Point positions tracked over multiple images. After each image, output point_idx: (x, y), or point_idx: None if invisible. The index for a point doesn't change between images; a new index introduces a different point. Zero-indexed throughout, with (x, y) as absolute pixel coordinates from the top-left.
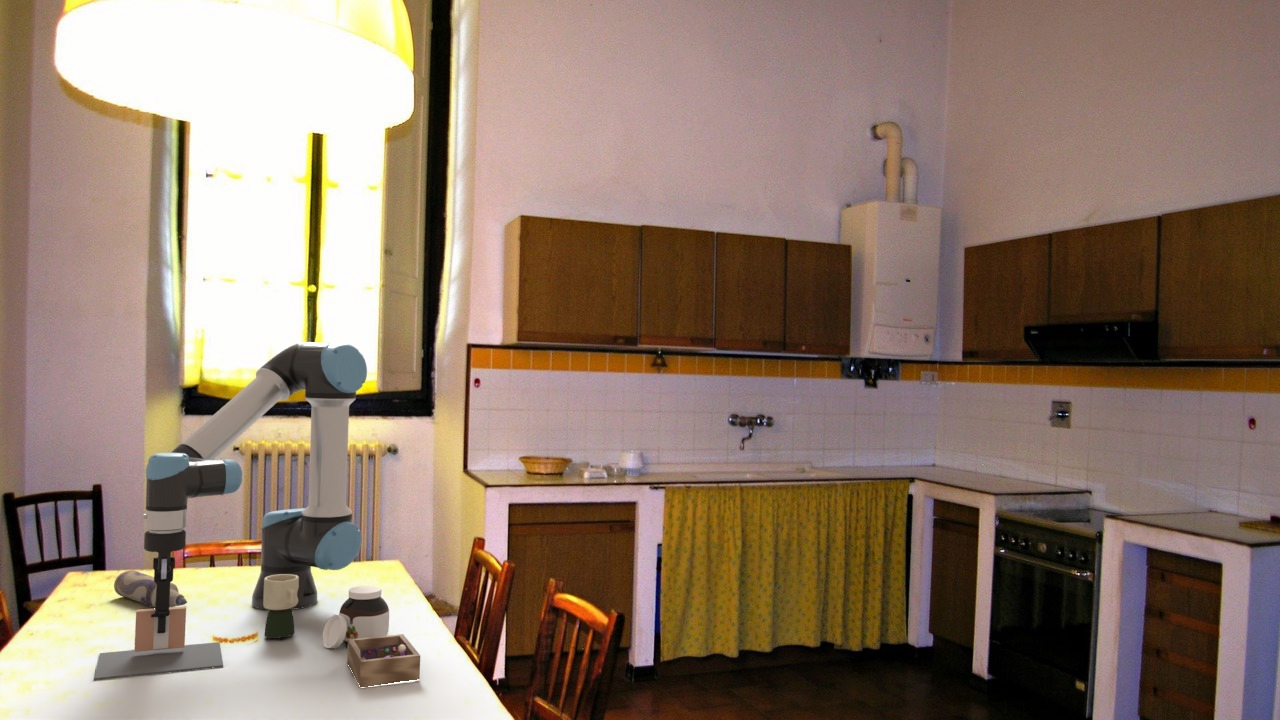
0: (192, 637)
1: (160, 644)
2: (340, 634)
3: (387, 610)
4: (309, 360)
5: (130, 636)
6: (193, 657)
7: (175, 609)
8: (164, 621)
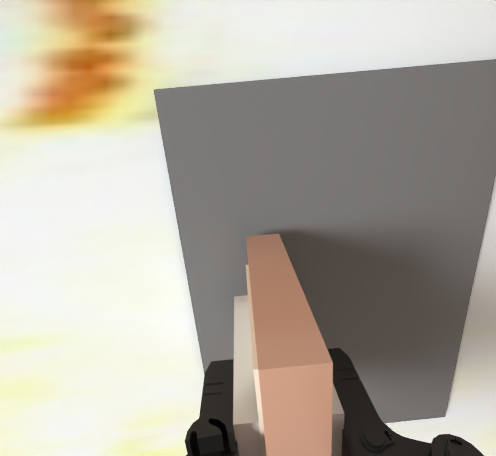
0: (38, 214)
1: None
2: None
3: None
4: None
5: (21, 399)
6: (357, 188)
7: (330, 423)
8: (368, 405)
